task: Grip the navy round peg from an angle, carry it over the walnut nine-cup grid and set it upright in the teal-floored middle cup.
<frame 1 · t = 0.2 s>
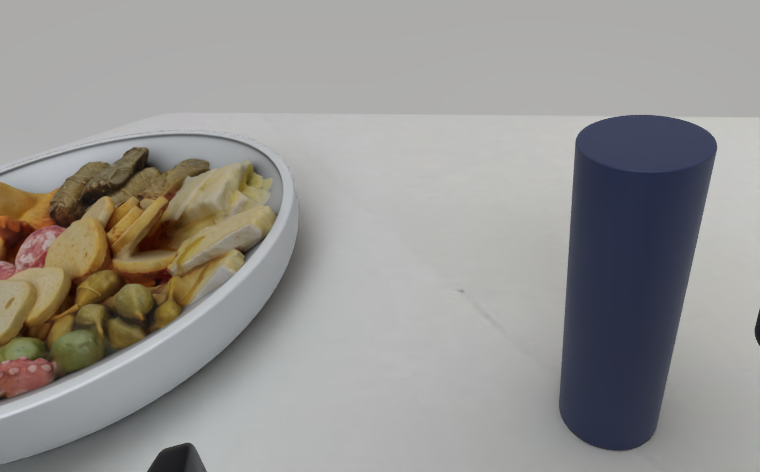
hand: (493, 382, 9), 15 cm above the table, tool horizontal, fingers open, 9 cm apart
navy round peg: (606, 410, 25), on the table
bowl: (88, 296, 38), on the table
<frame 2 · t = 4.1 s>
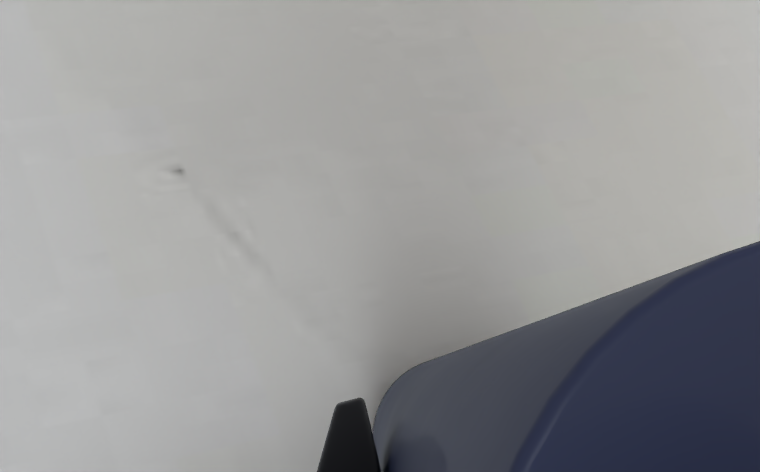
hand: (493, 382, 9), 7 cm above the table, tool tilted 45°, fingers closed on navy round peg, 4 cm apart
navy round peg: (449, 438, 15), on the table, touching gripper
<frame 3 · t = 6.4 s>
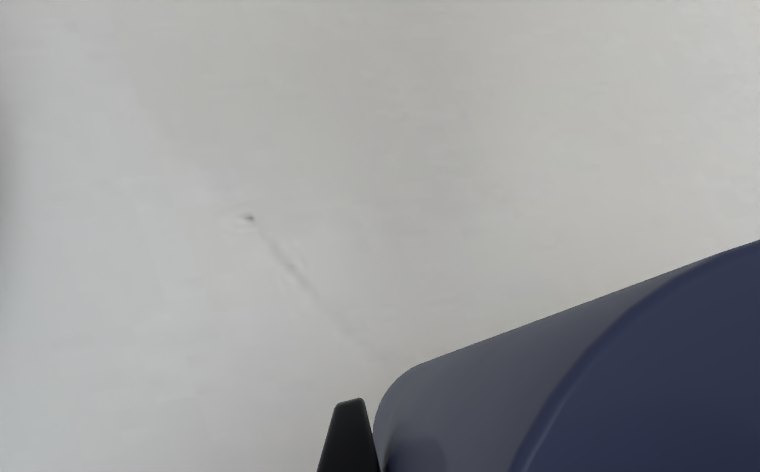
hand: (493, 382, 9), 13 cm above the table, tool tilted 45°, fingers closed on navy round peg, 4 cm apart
navy round peg: (449, 437, 15), point 6 cm above the table, touching gripper
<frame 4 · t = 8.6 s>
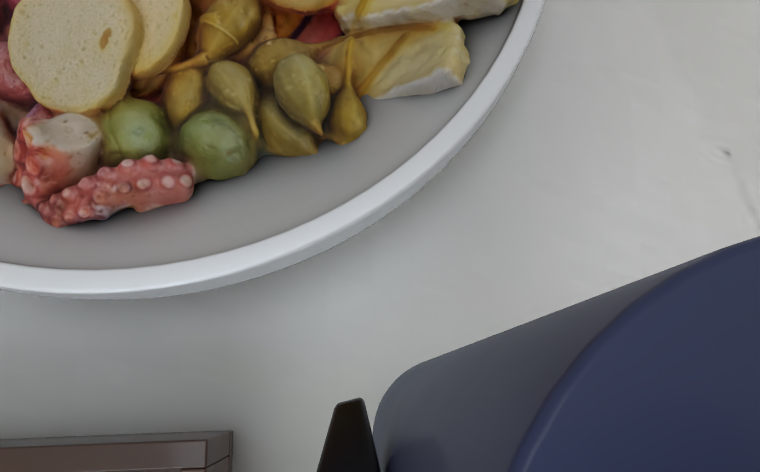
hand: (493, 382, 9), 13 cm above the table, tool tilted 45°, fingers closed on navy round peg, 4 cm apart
navy round peg: (450, 437, 15), point 6 cm above the table, touching gripper
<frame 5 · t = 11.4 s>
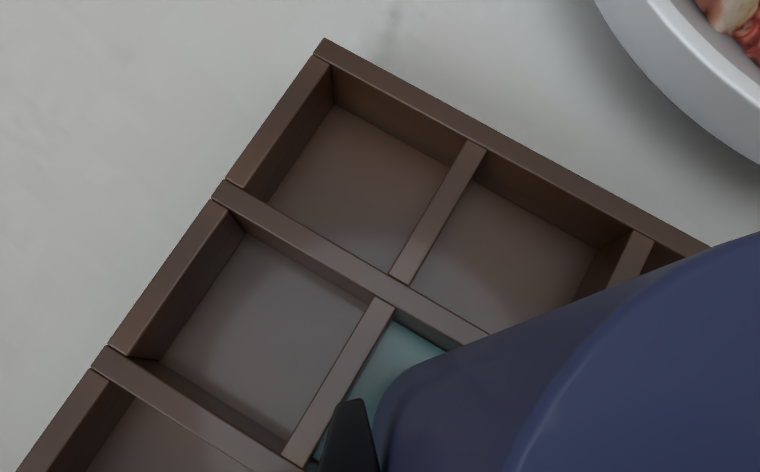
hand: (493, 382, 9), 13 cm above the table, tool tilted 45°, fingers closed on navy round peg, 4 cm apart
navy round peg: (449, 436, 15), point 6 cm above the table, touching gripper
grid: (418, 425, 20), on the table
when the fingers open (7 cm above the table, at t = 13.5 s): navy round peg stays where it is, resting on grid.
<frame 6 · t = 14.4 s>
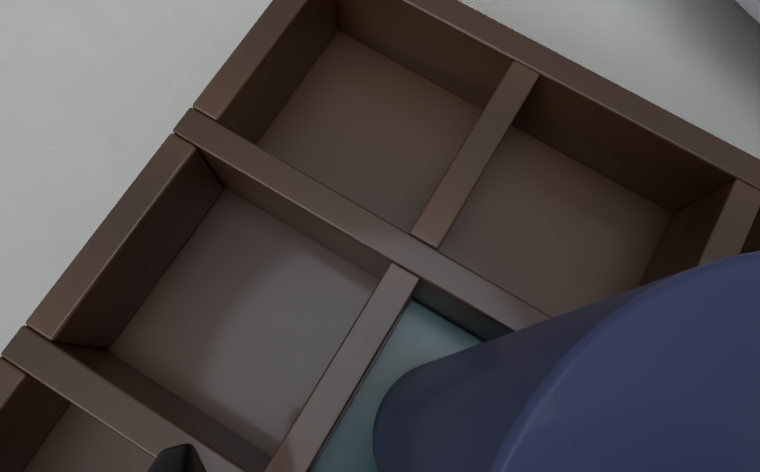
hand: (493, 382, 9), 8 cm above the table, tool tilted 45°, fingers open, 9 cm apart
navy round peg: (448, 437, 15), point 1 cm above the table, touching grid
grid: (444, 436, 16), on the table
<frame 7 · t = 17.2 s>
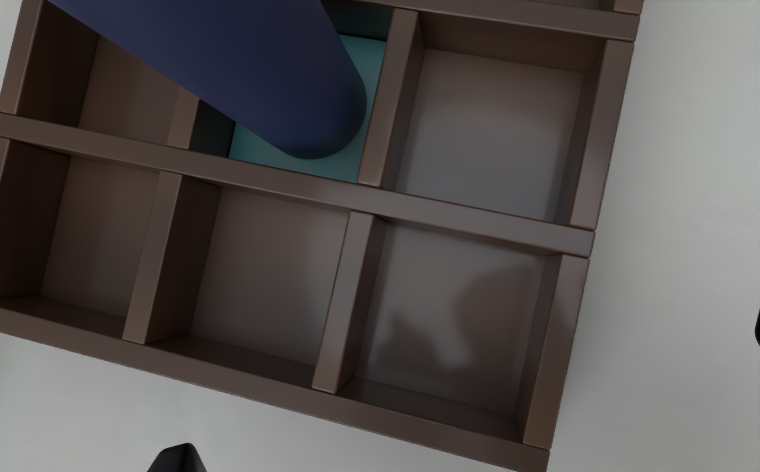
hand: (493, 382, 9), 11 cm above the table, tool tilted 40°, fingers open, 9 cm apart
navy round peg: (312, 104, 20), point 1 cm above the table, touching grid
grid: (317, 110, 21), on the table
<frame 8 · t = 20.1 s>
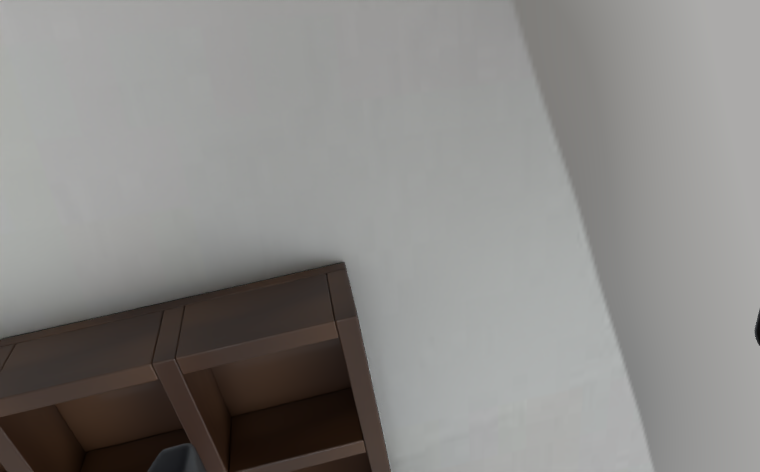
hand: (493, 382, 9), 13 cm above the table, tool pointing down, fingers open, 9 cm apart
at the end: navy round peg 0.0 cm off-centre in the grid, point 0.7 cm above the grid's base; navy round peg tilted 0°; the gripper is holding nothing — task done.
